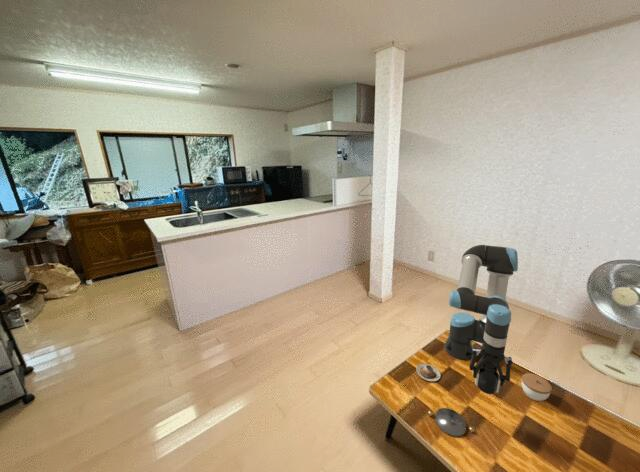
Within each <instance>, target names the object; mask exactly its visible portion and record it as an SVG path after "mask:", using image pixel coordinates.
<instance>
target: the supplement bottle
mask: <svg viewBox="0 0 640 472" xmlns="http://www.w3.org/2000/svg"><path fill="white" fill-rule="evenodd" d="M499 376H500V375H499V372H498V369H497V366H496V364H495V363H492V362H486V363H485V364H484V365H483V366H482V367H481V369H480V370H479V379H478V385H477V386H476V387H478V389H479V390H480V391H481V392H483V393H485V394H487V395H493V394H495V393H497V392H496V388H497V382H498V377H499Z"/></svg>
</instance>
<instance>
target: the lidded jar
mask: <svg viewBox="0 0 640 472" xmlns="http://www.w3.org/2000/svg"><path fill="white" fill-rule="evenodd" d="M521 388H522V390H523V392H524V394H525V395H526V396H527V397H528V398H529V399H531V400H533V401H536V402H542V401H545V400H547V399H548V398H550V395H551V392H552V390H553V388H552V385H551V383H550V382H549V381H547V379H545V378H544V377H542V376H539V375H537V374H534V373H527V372H526V373H525V374H523V375H522V376H521Z"/></svg>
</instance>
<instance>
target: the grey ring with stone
mask: <svg viewBox="0 0 640 472" xmlns="http://www.w3.org/2000/svg"><path fill="white" fill-rule="evenodd" d="M415 371H416V373H417V374H418V376H419V377H420V379H422V380H425V381H427V382H430V383H431V382H437V381H439V380H440V379H441V372H440V370H439V369H438V368H437V367H436V366H434V365H433V364H430V363H429V364H428V363H420V364H418V365H417V366H416V369H415ZM435 375H436V376H435ZM434 376H435V377H434Z"/></svg>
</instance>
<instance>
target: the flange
mask: <svg viewBox="0 0 640 472" xmlns="http://www.w3.org/2000/svg"><path fill="white" fill-rule="evenodd" d="M427 415H428V417H430V418H433V417H434V419H435V420H434V421H435V424H436V425H437V427H438V428H439V430H441V431H442V432H443V433H444V434H446V435H447V436H450V437H455V438H456V437H458V438H461V437H463V436H464V435H465V434H466V432H467V422H466V420H465V418H463V416H462V415H461V414H460V413H458V412H457V411H455V410H454V409H451V408H448V407H442V408H439V409H437V411H436V412H435V414H434V411H433V410H431V409H429V410H427ZM468 432H469V433H470V434H475V427H474V426H472V425H469V427H468Z"/></svg>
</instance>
